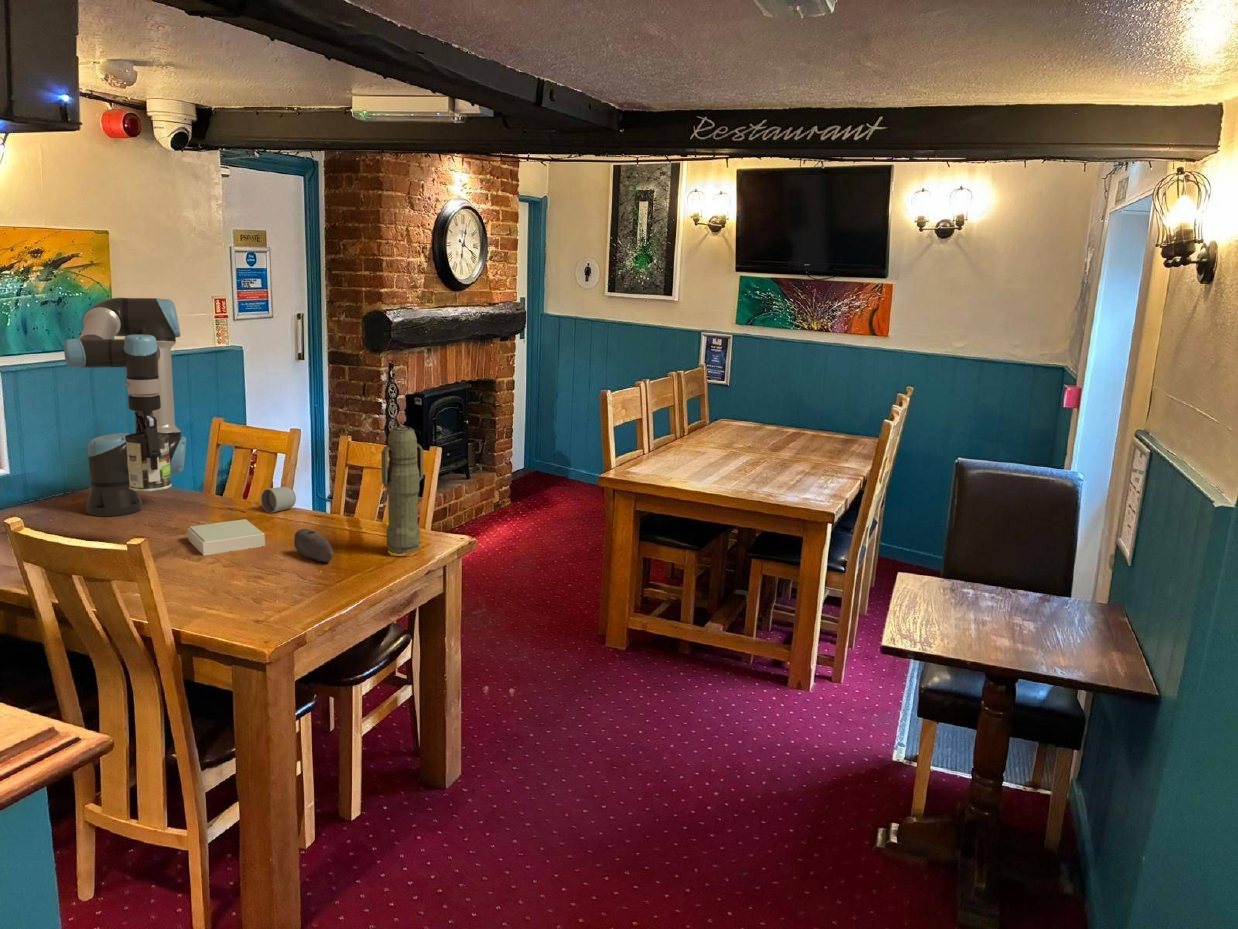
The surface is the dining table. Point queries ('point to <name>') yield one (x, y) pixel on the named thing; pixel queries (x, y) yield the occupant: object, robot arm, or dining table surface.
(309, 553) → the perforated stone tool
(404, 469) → the thermos
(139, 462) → the coffee can
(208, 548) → the plinth
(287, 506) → the grey cylinder
